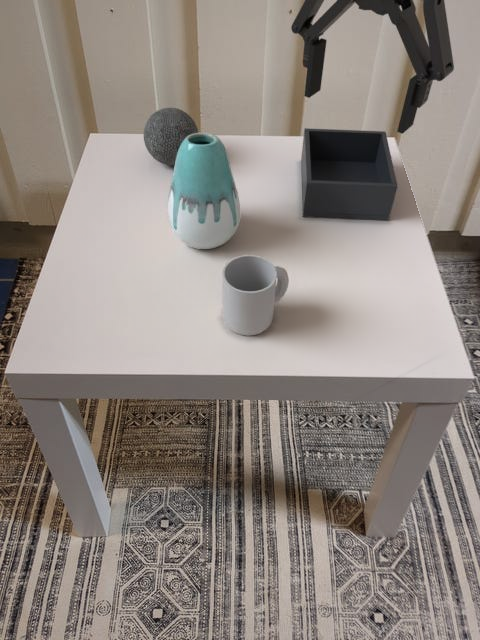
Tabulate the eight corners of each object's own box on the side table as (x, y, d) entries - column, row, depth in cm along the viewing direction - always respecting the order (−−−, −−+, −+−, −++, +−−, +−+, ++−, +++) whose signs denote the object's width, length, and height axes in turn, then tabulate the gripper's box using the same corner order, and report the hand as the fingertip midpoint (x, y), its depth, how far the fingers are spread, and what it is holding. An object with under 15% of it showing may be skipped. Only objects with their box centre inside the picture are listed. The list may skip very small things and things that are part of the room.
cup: (214, 310, 82) (212, 265, 75) (272, 286, 85) (275, 241, 79) (238, 344, 78) (239, 300, 71) (298, 317, 81) (305, 273, 75)
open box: (388, 220, 96) (397, 186, 91) (302, 217, 96) (306, 182, 91) (377, 164, 107) (385, 131, 102) (300, 161, 107) (304, 128, 102)
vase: (193, 204, 98) (187, 108, 85) (252, 226, 95) (256, 128, 81) (156, 243, 92) (143, 145, 78) (218, 268, 88) (215, 169, 74)
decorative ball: (193, 142, 111) (191, 94, 104) (204, 171, 105) (202, 122, 97) (143, 149, 109) (136, 100, 102) (151, 179, 103) (145, 129, 95)
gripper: (531, -75, 53) (461, 131, 69) (309, -119, 63) (293, 70, 79) (500, -56, 49) (434, 158, 65) (269, -106, 59) (261, 90, 75)
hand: (356, 110), depth 72 cm, fingers open, 13 cm apart
